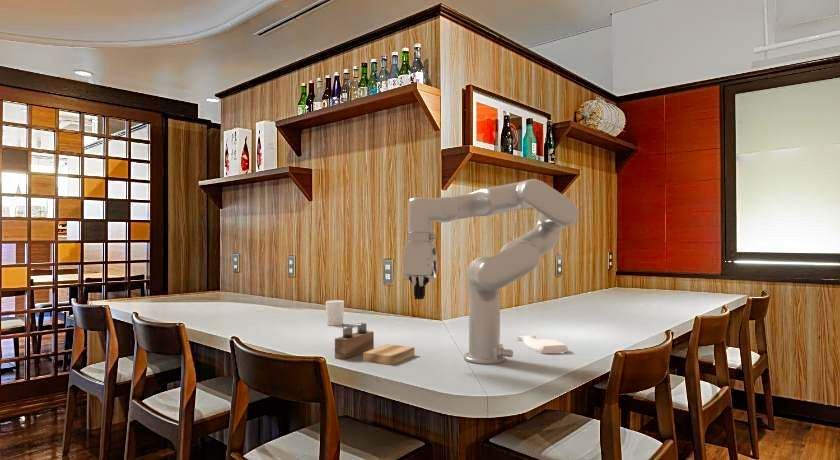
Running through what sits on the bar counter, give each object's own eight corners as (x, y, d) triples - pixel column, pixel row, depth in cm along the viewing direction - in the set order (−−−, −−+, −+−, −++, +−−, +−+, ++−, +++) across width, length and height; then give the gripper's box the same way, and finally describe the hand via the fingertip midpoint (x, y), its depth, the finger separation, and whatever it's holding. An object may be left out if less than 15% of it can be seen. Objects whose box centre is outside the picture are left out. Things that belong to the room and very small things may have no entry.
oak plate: (414, 356, 167) (414, 347, 167) (390, 366, 155) (390, 356, 155) (388, 353, 172) (388, 344, 172) (362, 362, 160) (363, 352, 160)
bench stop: (373, 349, 175) (373, 322, 176) (345, 359, 161) (345, 330, 161) (363, 348, 177) (363, 321, 177) (334, 357, 163) (334, 329, 163)
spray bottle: (539, 355, 168) (510, 342, 192) (571, 354, 170) (538, 340, 194) (539, 346, 168) (510, 333, 192) (570, 345, 170) (538, 332, 194)
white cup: (340, 326, 221) (340, 302, 221) (322, 325, 222) (322, 302, 222) (346, 323, 228) (346, 300, 228) (329, 322, 230) (329, 299, 230)
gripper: (447, 238, 158) (447, 299, 158) (404, 238, 165) (404, 296, 165) (436, 238, 152) (436, 301, 151) (392, 238, 159) (391, 298, 158)
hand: (419, 298), depth 158 cm, fingers closed
